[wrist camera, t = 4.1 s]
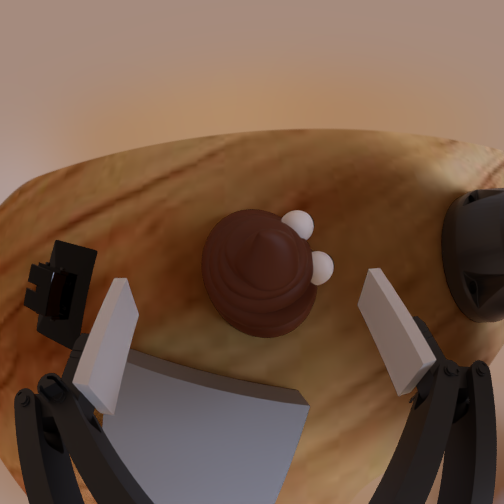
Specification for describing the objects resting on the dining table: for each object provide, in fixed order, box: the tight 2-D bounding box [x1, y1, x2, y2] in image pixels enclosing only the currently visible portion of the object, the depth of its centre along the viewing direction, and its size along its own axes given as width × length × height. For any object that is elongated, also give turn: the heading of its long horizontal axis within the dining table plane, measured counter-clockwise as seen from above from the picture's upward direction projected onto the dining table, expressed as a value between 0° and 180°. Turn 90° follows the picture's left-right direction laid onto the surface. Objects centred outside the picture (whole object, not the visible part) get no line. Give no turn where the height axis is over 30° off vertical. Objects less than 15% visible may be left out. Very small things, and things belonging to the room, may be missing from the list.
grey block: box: [102, 349, 310, 504], centre depth 17 cm, size 14×14×4 cm
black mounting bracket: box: [24, 240, 97, 350], centre depth 19 cm, size 12×7×5 cm, turn 168°
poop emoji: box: [202, 209, 334, 338], centre depth 18 cm, size 10×8×9 cm
